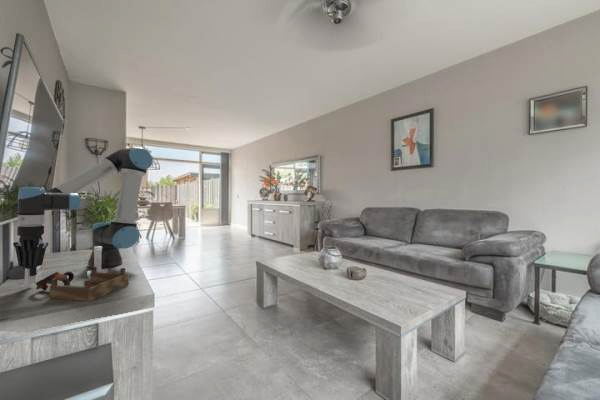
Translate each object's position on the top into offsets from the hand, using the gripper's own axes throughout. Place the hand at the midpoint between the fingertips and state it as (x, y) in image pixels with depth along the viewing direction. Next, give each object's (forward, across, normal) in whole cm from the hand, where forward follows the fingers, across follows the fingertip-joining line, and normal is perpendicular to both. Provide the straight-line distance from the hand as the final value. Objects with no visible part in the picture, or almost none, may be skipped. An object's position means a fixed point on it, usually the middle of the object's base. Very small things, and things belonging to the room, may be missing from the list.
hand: (30, 283), depth 104 cm
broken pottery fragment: (+2, +12, 0) cm, 13 cm away
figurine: (+2, +17, +13) cm, 22 cm away
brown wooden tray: (+2, +26, 0) cm, 26 cm away
